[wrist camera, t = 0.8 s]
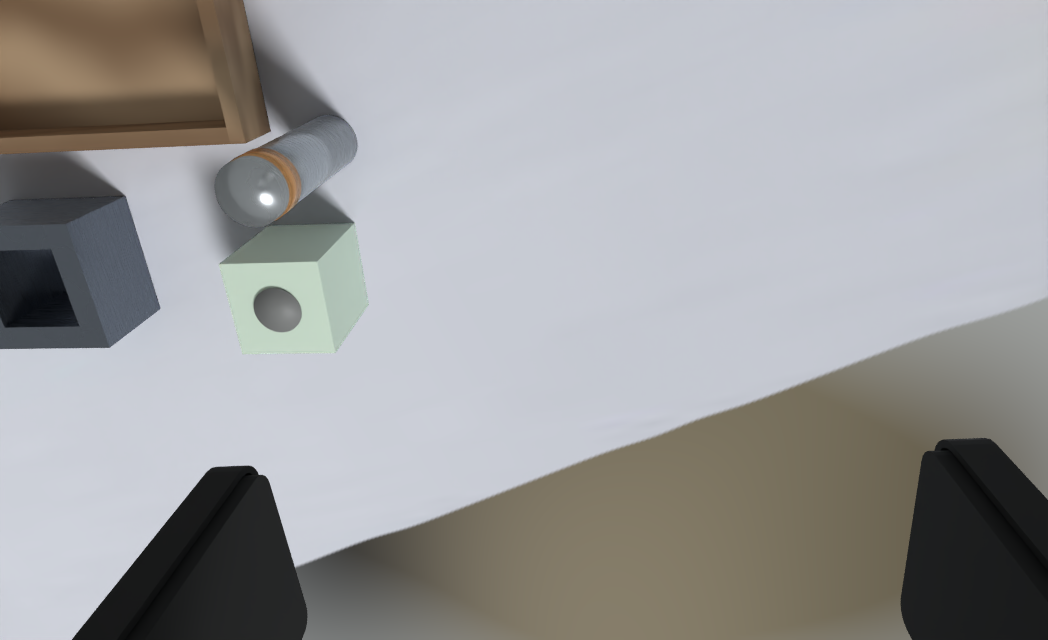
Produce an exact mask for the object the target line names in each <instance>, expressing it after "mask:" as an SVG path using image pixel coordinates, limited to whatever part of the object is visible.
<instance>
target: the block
mask: <svg viewBox="0 0 1048 640" xmlns="http://www.w3.org/2000/svg"><path fill="white" fill-rule="evenodd" d="M52 253H53V254H52ZM53 256H54V257H53ZM55 261H56V262H55ZM56 264H57V265H56ZM57 267H58V268H57ZM58 269H59V270H58ZM59 272H60V273H59ZM60 275H61V276H60ZM62 280H63V281H62ZM63 283H64V284H63ZM65 288H66V289H65ZM159 309H160V306H159V303H158V300H157V296H156V293H155V290H154V287H153V284H152V280H151V277H150V274H149V271H148V267H147V264H146V261H145V258H144V255H143V251H142V248H141V245H140V242H139V239H138V235H137V232H136V229H135V226H134V223H133V219H132V216H131V213H130V210H129V206H128V203H127V200H126V197H125V196H116V197H89V198H61V199H34V200H11V201H8V202H6V203H3V204H1V205H0V349H34V348H110V347H111V346H112V345H114V344H115V343H116V342H118V341H119V340H120V339H122V338H123V337H124V336H126V335H127V334H128V333H129V332H131V331H132V330H133V329H135V328H136V327H137V326H139V325H140V324H141V323H142V322H144V321H145V320H146V319H148V318H149V317H150V316H152V315H153V314H154V313H156V312H157V311H158V310H159Z"/></svg>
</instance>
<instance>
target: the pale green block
mask: <svg viewBox="0 0 1048 640" xmlns="http://www.w3.org/2000/svg"><path fill="white" fill-rule="evenodd" d="M219 267H220V271H221V275H222V278H223V282H224V286H225V290H226V294H227V297H228V301H229V305H230V309H231V313H232V316H233V320H234V324H235V328H236V331H237V335H238V339H239V343H240V347H241V350H242V354H296V353H336V352H337V350H338V349H339V347H340V346H341V344H342V343H343V341H344V340H345V338H346V337H347V336H348V334H349V333H350V331H351V330H352V328H353V327H354V325H355V324H356V322H357V321H358V319H359V318H360V317H361V315H362V314H363V312H364V311H365V309H366V308H367V306H368V305H369V304H368V298H367V292H366V286H365V280H364V274H363V269H362V263H361V257H360V251H359V245H358V239H357V233H356V228H355V223H338V224H306V225H274V226H268V227H266V228H265V229H264V230H263V231H261V232H260V233H259V234H257V235H256V236H255V237H253V238H252V239H251V240H250V241H248V242H247V243H246V244H244V245H243V246H242V247H240V248H239V249H238V250H237V251H235V252H234V253H233V254H231V255H230V256H229V257H227V258H226V259H225V260H224V261H222V262H221V263H220V264H219Z"/></svg>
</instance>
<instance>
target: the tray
mask: <svg viewBox="0 0 1048 640" xmlns="http://www.w3.org/2000/svg"><path fill="white" fill-rule="evenodd" d="M270 131H271V130H270V125H269V121H268V116H267V111H266V107H265V102H264V97H263V92H262V88H261V83H260V78H259V74H258V69H257V64H256V59H255V55H254V50H253V45H252V41H251V36H250V31H249V26H248V22H247V17H246V12H245V7H244V3H243V0H0V154H16V153H38V152H61V151H84V150H106V149H129V148H151V147H174V146H196V145H219V144H241V143H247V142H249V141H252V140H254V139H256V138H258V137H260V136H262V135H264V134H266V133H268V132H270Z"/></svg>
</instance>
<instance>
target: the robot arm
mask: <svg viewBox="0 0 1048 640" xmlns="http://www.w3.org/2000/svg"><path fill="white" fill-rule="evenodd" d="M901 612H902V616H903V620H904V624H905V626H906V628H907V631H908V633H909V634H910V636H911V638H912V640H1048V500H1047V499H1046V498H1045V496H1044V495H1043V494H1042V493H1041V492H1040V491H1039V490H1038V489H1037V488H1036V487H1035V485H1034V484H1032V482H1031V481H1030V480H1029V479H1028V478H1027V477H1026V476H1025V475H1024V474H1023V473H1022V471H1021V470H1020V469H1019V468H1018V467H1017V466H1016V465H1015V464H1014V463H1013V462H1012V461H1011V460H1010V459H1009V457H1008V456H1007V455H1006V454H1005V453H1004V452H1003V451H1002V450H1001V449H1000V448H999V447H998V445H997V444H995V443H994V442H993V441H992V440H991V439H987V438H976V439H975V438H974V439H947V440H941V441H939V442H938V444H937V445H936V447H935V451H927V452H925V453H924V455H923V458H922V461H921V469H920V475H919V482H918V488H917V495H916V501H915V508H914V514H913V521H912V528H911V534H910V541H909V548H908V554H907V561H906V568H905V574H904V581H903V587H902V594H901ZM306 625H307V608H306V604H305V600H304V597H303V594H302V590H301V587H300V583H299V580H298V577H297V573H296V570H295V567H294V563H293V560H292V557H291V553H290V550H289V547H288V543H287V540H286V537H285V533H284V530H283V526H282V523H281V520H280V516H279V513H278V510H277V506H276V503H275V500H274V496H273V493H272V490H271V486H270V483H269V481H268V479H267V478H266V476H264V475H258V472H257V471H256V469H255V468H254V467H252V466H227V467H214V468H211V469H210V470H209V471H207V472H206V474H205V475H204V476H203V477H202V479H201V480H200V481H199V482H198V484H197V485H196V486H195V487H194V488H193V490H192V491H191V492H190V493H189V495H188V496H187V497H186V498H185V500H184V501H183V502H182V503H181V505H180V506H179V507H178V508H177V510H176V511H175V512H174V513H173V515H172V516H171V517H170V518H169V520H168V521H167V522H166V523H165V525H164V526H163V527H162V528H161V529H160V531H159V532H158V533H157V534H156V536H155V537H154V538H153V539H152V541H151V542H150V543H149V544H148V546H147V547H146V548H145V549H144V551H143V552H142V553H141V554H140V556H139V557H138V558H137V559H136V561H135V562H134V563H133V564H132V566H131V567H130V568H129V569H128V571H127V572H126V573H125V574H124V575H123V577H122V578H121V579H120V580H119V582H118V583H117V584H116V585H115V587H114V588H113V589H112V590H111V592H110V593H109V594H108V595H107V597H106V598H105V599H104V600H103V602H102V603H101V604H100V605H99V607H98V608H97V609H96V610H95V612H94V613H93V614H92V615H91V616H90V618H89V619H88V620H87V621H86V623H85V624H84V625H83V626H82V628H81V629H80V630H79V631H78V633H77V634H76V635H75V636H74V638H73V639H72V640H302V638H303V635H304V632H305V629H306Z"/></svg>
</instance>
